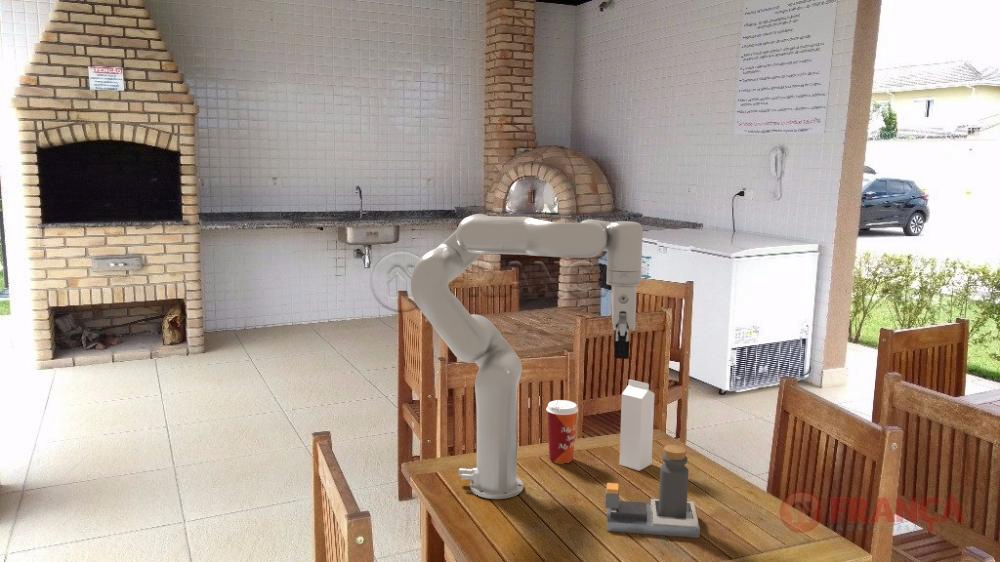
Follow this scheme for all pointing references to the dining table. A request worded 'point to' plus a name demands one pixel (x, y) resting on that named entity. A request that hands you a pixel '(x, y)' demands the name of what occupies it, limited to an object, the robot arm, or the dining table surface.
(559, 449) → the coffee cup
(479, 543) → the dining table surface
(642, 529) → the panel
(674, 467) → the bottle
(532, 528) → the dining table surface
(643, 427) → the milk
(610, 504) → the toggle
